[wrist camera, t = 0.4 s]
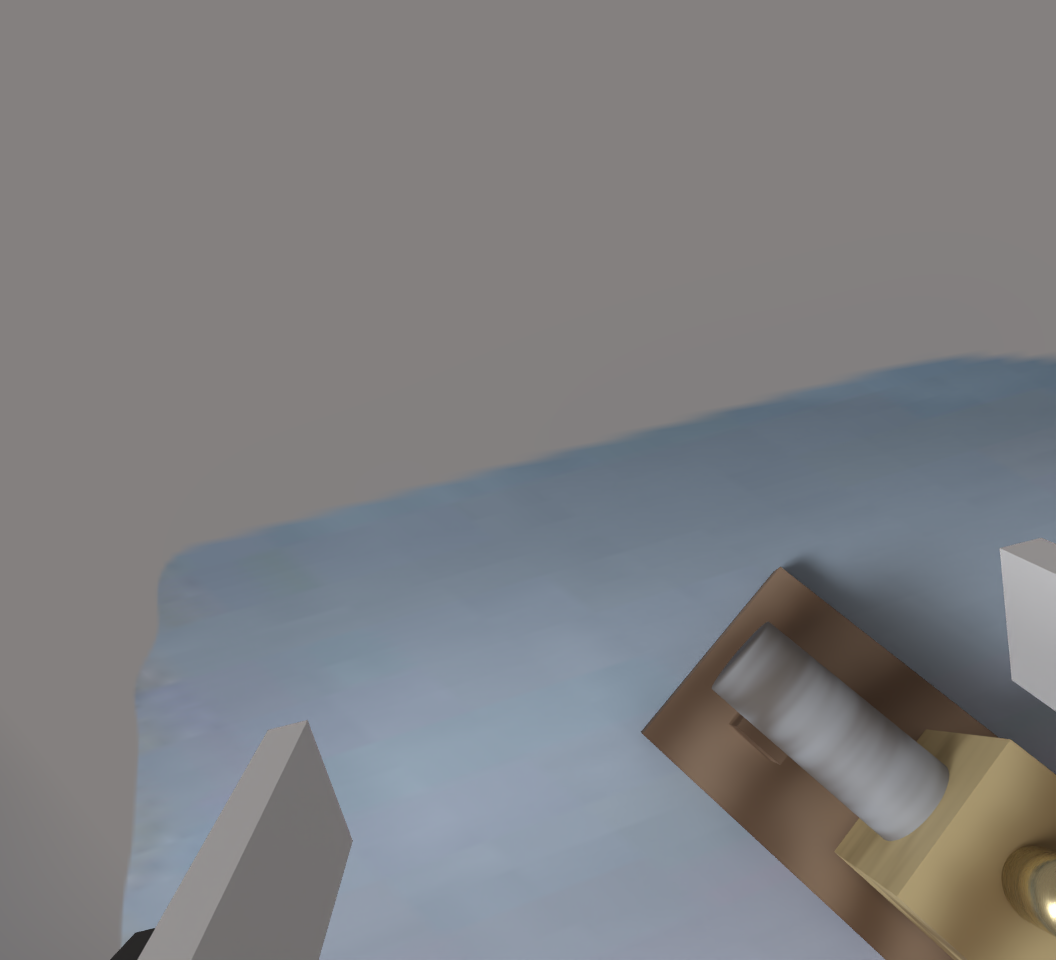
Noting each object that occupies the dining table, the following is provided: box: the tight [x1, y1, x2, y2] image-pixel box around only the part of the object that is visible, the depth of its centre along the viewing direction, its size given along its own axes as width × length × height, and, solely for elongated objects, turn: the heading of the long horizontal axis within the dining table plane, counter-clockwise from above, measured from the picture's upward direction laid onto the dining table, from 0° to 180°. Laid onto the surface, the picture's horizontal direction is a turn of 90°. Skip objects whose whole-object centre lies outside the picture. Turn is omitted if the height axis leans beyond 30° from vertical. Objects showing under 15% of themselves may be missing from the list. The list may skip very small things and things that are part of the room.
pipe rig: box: [641, 567, 1056, 960], centre depth 36 cm, size 32×14×12 cm, turn 48°
